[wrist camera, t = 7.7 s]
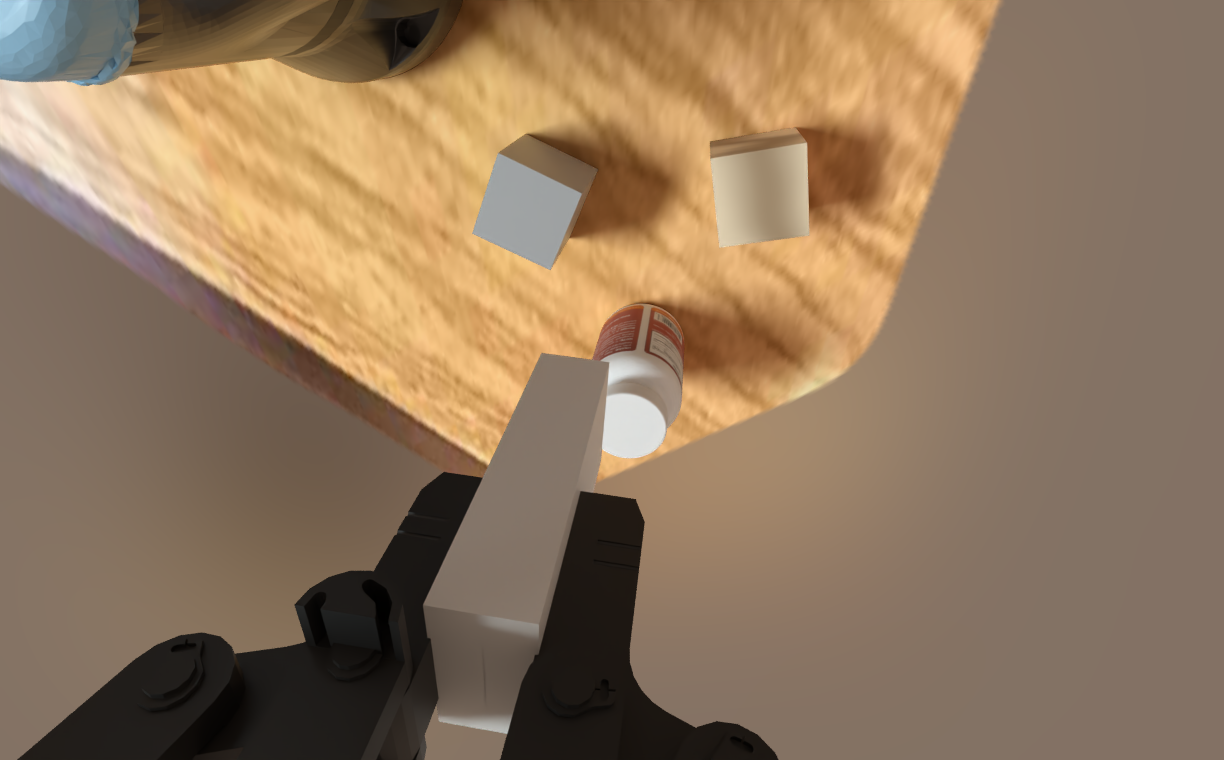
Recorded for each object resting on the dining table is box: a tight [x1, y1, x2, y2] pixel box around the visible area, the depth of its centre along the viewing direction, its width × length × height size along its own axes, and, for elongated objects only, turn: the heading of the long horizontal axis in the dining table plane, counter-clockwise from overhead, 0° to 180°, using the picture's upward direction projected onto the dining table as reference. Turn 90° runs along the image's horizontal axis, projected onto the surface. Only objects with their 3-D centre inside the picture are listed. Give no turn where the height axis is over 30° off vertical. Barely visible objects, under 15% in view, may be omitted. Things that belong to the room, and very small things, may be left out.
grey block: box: [472, 134, 598, 270], centre depth 37 cm, size 5×5×6 cm
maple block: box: [710, 127, 809, 248], centre depth 35 cm, size 5×5×5 cm
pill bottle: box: [592, 304, 684, 458], centre depth 40 cm, size 6×6×11 cm
